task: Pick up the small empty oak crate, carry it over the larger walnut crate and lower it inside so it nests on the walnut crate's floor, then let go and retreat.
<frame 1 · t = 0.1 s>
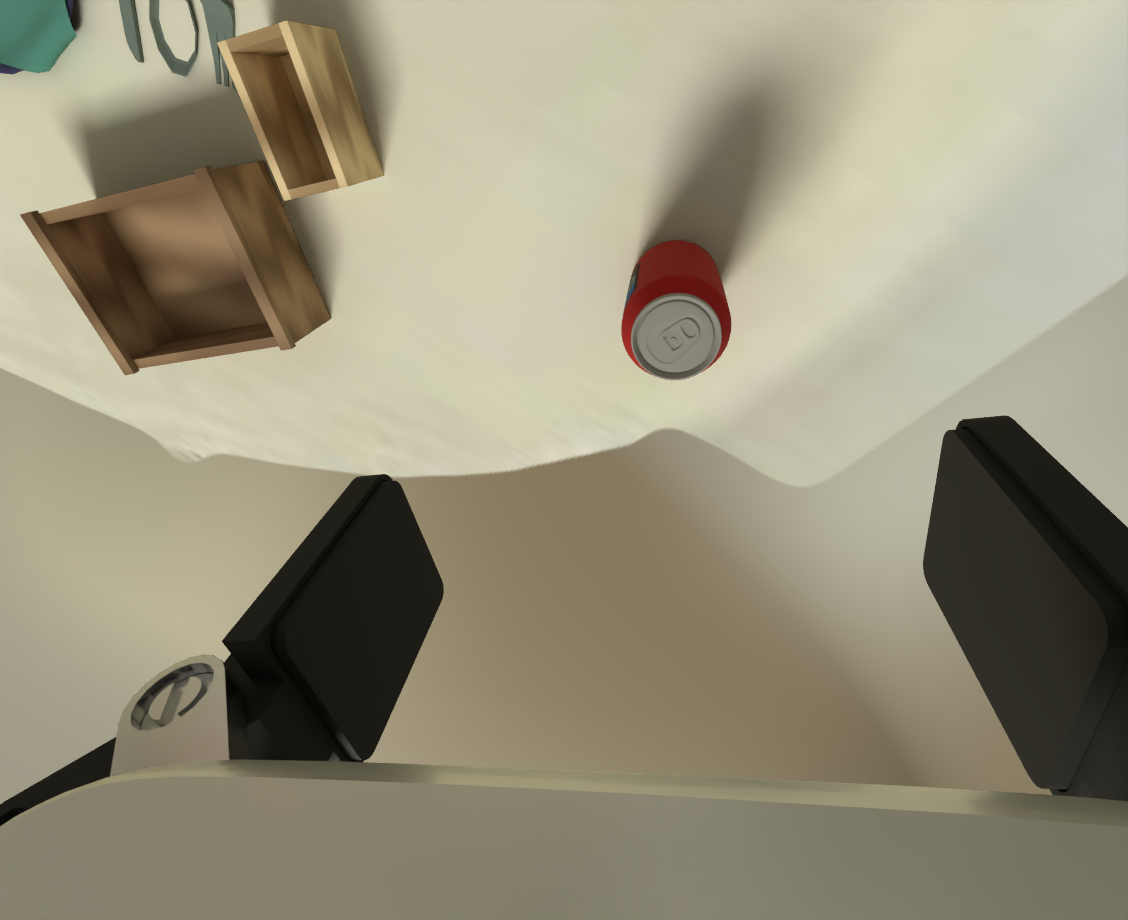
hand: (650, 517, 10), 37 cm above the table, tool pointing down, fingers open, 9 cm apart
oak crate: (331, 114, 41), on the table
walnut crate: (217, 262, 48), on the table
beverage can: (673, 282, 44), on the table
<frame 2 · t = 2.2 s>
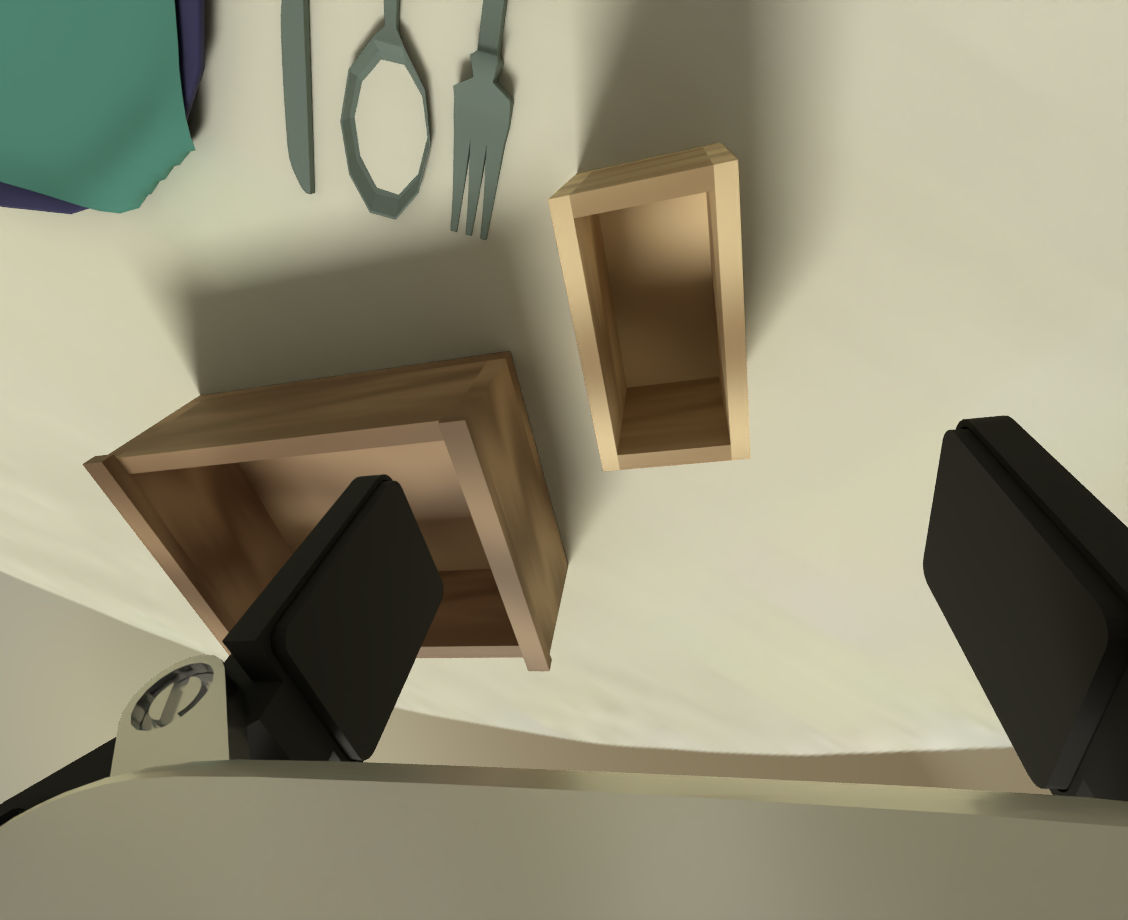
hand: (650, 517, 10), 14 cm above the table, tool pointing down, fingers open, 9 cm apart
oak crate: (661, 285, 22), on the table
walnut crate: (391, 484, 30), on the table
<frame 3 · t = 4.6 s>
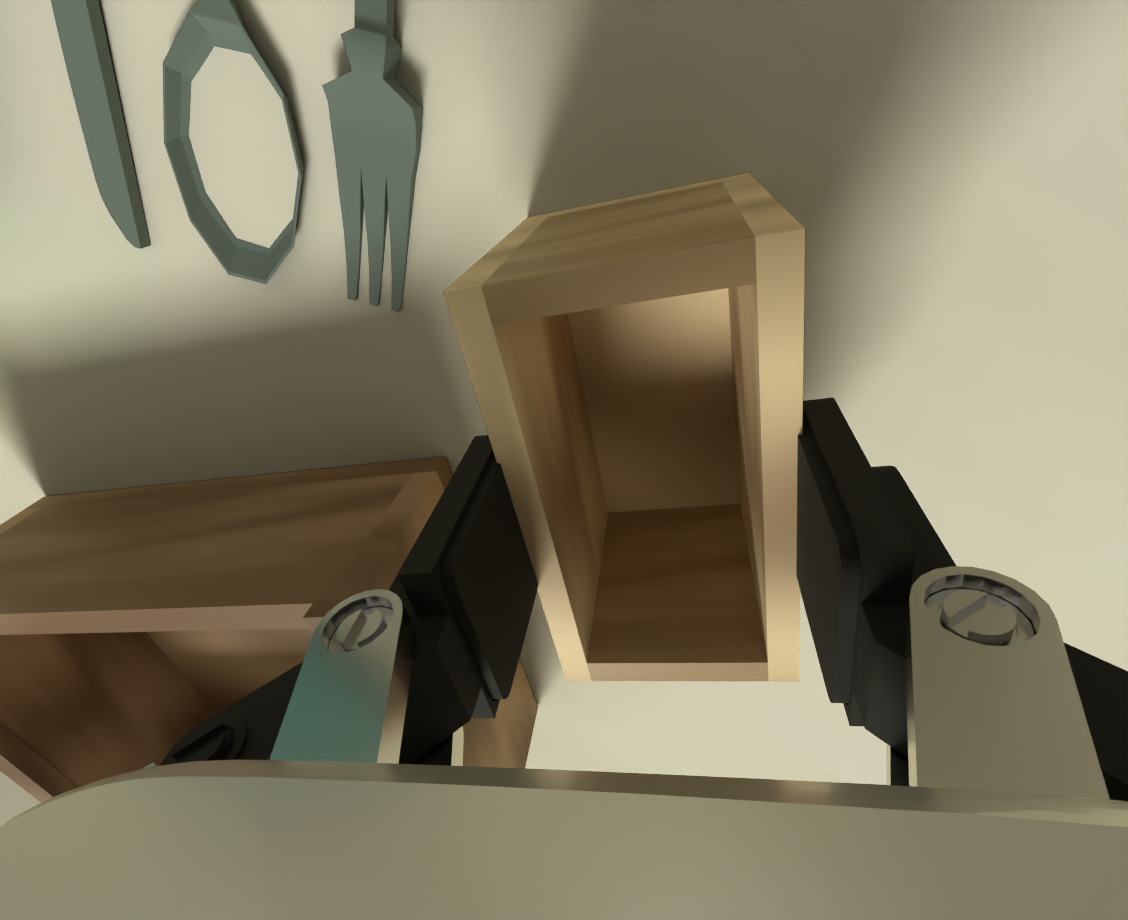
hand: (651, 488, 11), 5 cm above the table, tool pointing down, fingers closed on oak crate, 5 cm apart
oak crate: (656, 378, 15), on the table, touching gripper
walnut crate: (304, 607, 23), on the table
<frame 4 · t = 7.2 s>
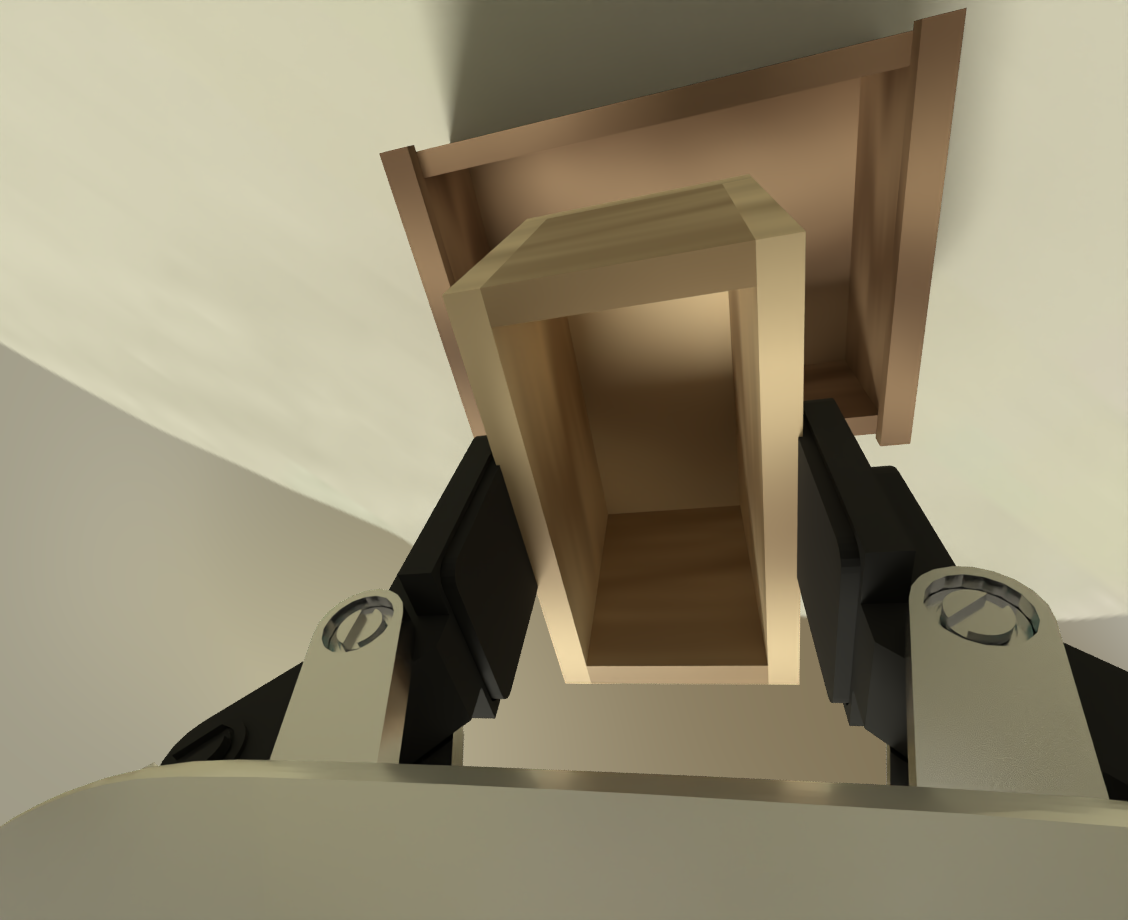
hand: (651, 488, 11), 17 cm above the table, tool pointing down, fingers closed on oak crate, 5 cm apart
oak crate: (656, 379, 15), point 12 cm above the table, touching gripper
walnut crate: (663, 260, 25), on the table
when the fingers open (7 cm above the table, at t = 10.0 s): oak crate drops 1 cm, resting on walnut crate.
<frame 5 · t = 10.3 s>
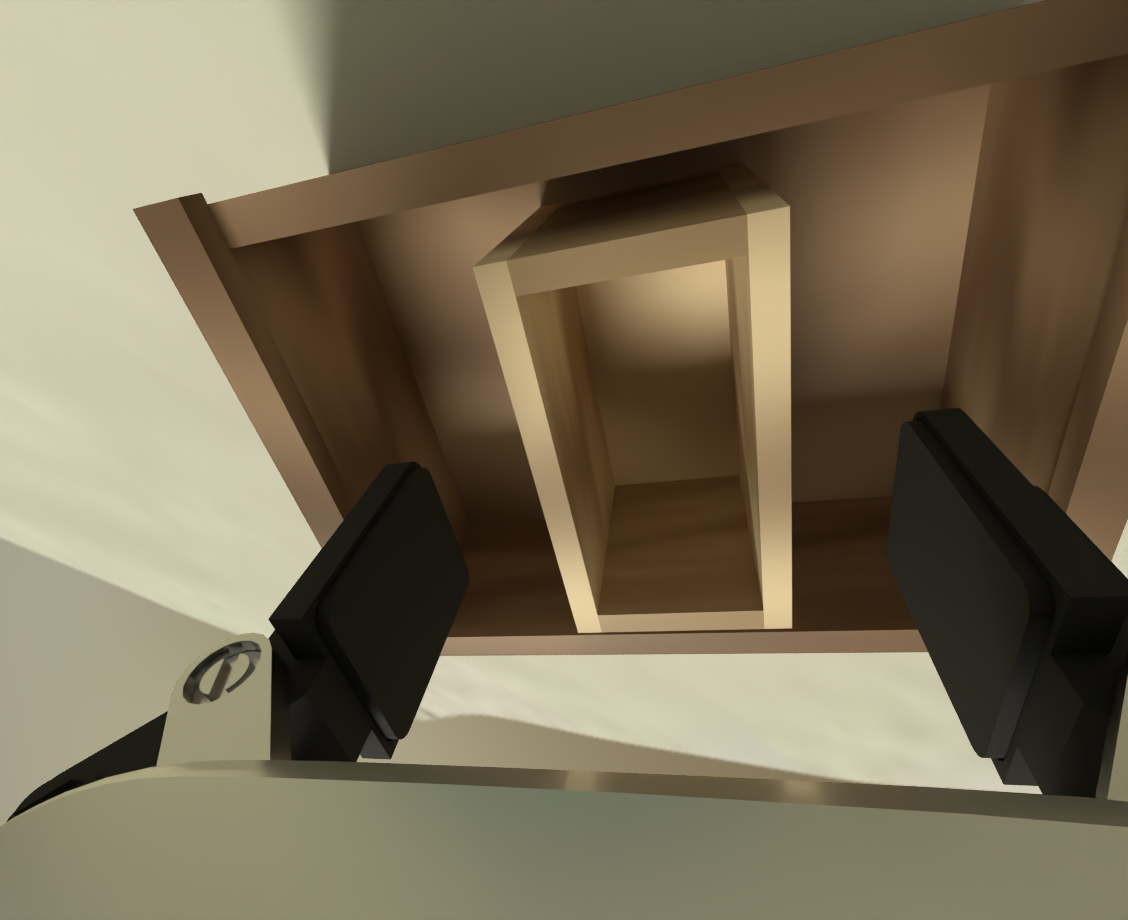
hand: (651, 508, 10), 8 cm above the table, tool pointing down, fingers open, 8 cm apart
oak crate: (660, 356, 16), point 1 cm above the table, touching walnut crate
walnut crate: (657, 347, 17), on the table
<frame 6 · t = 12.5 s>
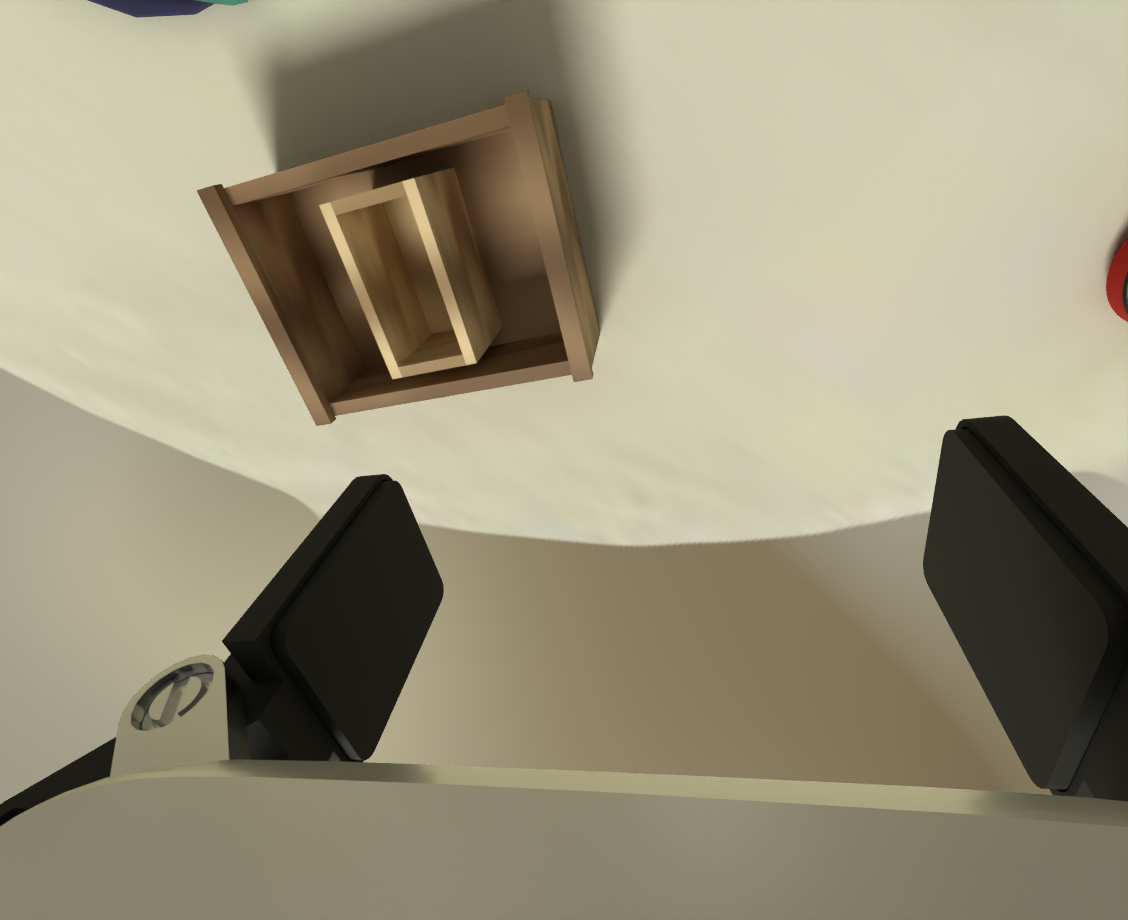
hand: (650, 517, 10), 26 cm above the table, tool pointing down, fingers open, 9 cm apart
oak crate: (440, 262, 33), point 1 cm above the table, touching walnut crate
walnut crate: (443, 259, 34), on the table
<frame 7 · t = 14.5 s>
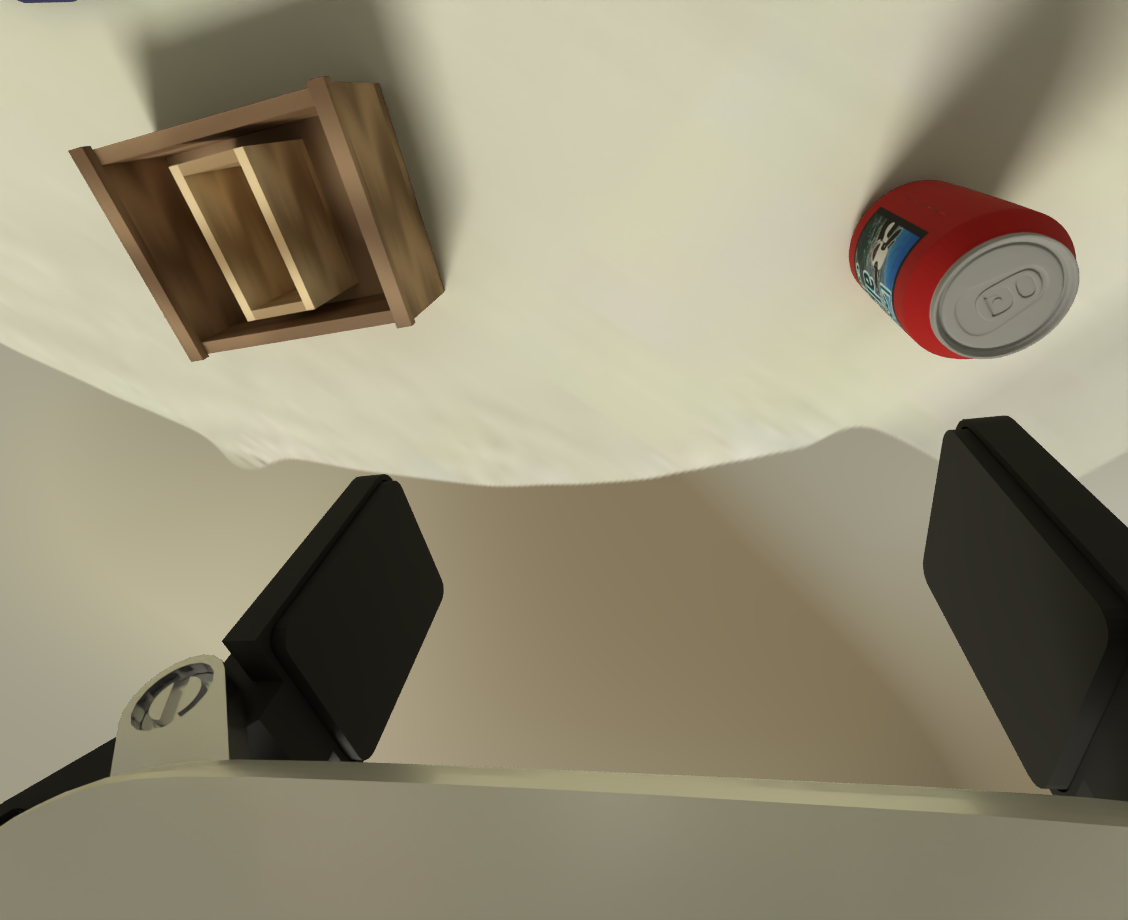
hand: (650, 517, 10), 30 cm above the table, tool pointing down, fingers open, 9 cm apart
oak crate: (300, 222, 38), point 1 cm above the table, touching walnut crate
walnut crate: (305, 220, 39), on the table
beverage can: (904, 239, 34), on the table
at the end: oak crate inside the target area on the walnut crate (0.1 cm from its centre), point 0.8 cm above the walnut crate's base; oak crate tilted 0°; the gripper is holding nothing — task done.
